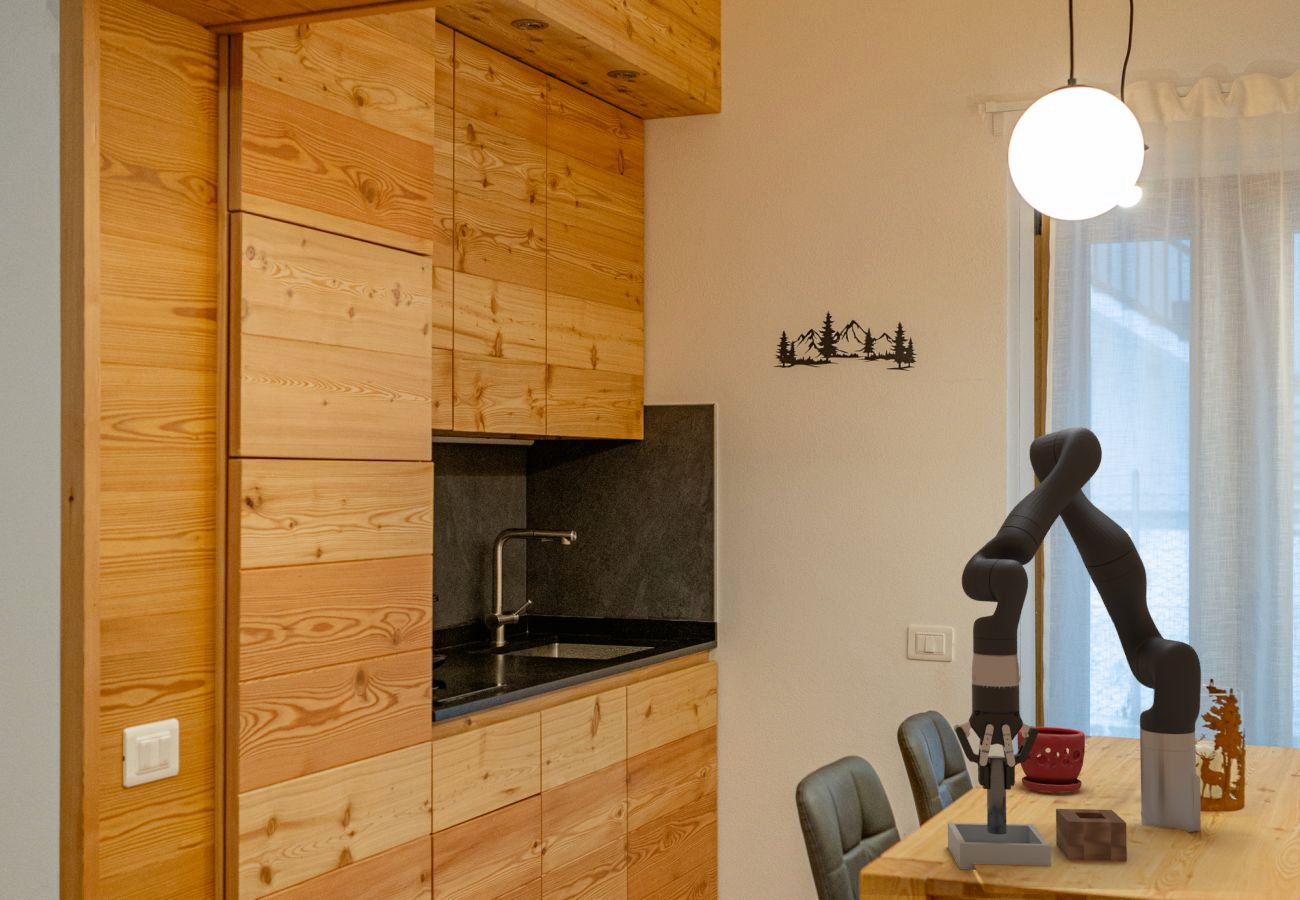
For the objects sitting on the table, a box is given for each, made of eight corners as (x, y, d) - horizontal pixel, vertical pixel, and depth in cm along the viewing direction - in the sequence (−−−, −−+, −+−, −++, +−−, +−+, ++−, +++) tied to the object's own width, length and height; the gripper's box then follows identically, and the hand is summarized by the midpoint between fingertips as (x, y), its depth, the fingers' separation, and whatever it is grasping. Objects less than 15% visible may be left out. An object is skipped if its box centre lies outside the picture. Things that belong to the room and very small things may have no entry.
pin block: (1112, 852, 219) (1111, 809, 219) (1126, 867, 210) (1126, 822, 210) (1056, 851, 220) (1055, 808, 220) (1068, 866, 211) (1068, 821, 211)
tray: (1033, 848, 222) (1032, 824, 222) (1050, 871, 208) (1050, 845, 208) (947, 846, 223) (947, 822, 223) (960, 869, 209) (959, 843, 209)
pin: (1004, 830, 217) (1004, 756, 217) (1008, 834, 214) (1007, 759, 214) (986, 829, 217) (985, 755, 218) (989, 834, 214) (988, 759, 215)
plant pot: (1098, 794, 264) (1097, 733, 264) (1039, 798, 260) (1038, 736, 261) (1062, 781, 276) (1062, 723, 277) (1005, 784, 273) (1005, 725, 274)
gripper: (1034, 679, 220) (1035, 784, 219) (948, 678, 221) (949, 782, 220) (1044, 685, 212) (1045, 794, 212) (954, 683, 214) (955, 792, 213)
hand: (996, 787), depth 216 cm, fingers closed on pin, 3 cm apart
